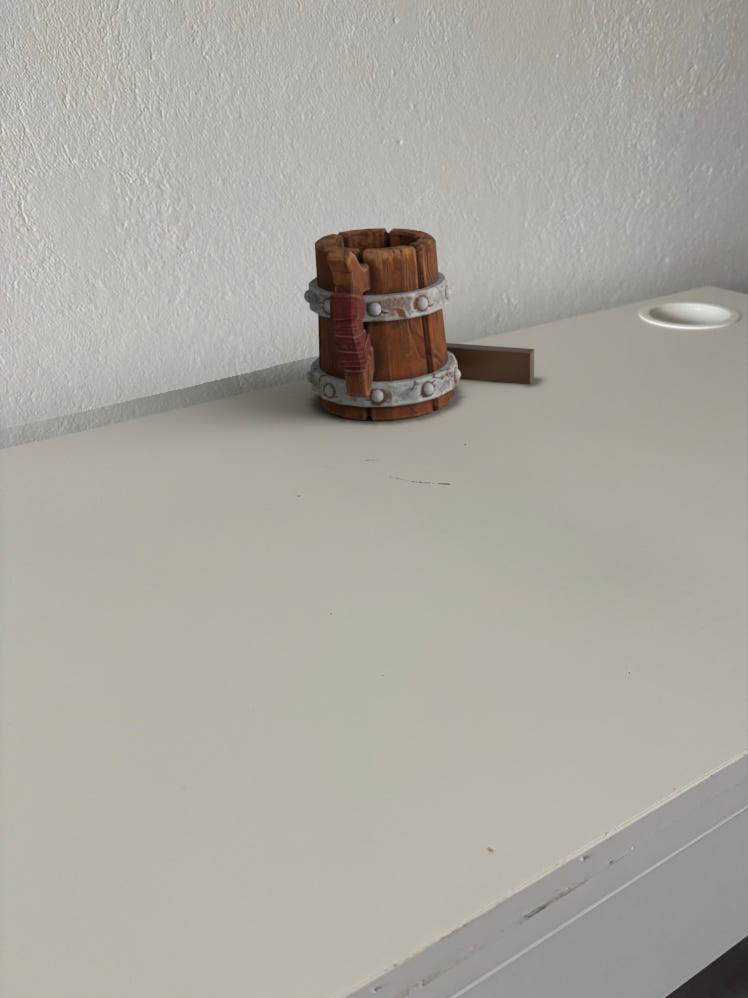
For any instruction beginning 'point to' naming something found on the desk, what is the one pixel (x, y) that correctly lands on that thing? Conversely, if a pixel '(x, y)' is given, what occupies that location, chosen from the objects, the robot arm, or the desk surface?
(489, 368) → the rail
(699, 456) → the desk surface
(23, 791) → the desk surface
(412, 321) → the mug
